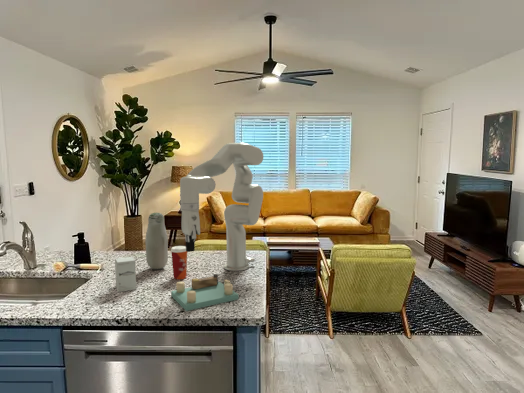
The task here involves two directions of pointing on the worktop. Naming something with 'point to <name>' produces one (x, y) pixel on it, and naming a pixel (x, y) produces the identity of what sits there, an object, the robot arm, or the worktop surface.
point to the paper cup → (179, 261)
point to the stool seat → (203, 295)
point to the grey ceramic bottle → (156, 242)
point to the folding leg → (205, 282)
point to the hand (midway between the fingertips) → (190, 251)
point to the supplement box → (125, 274)
